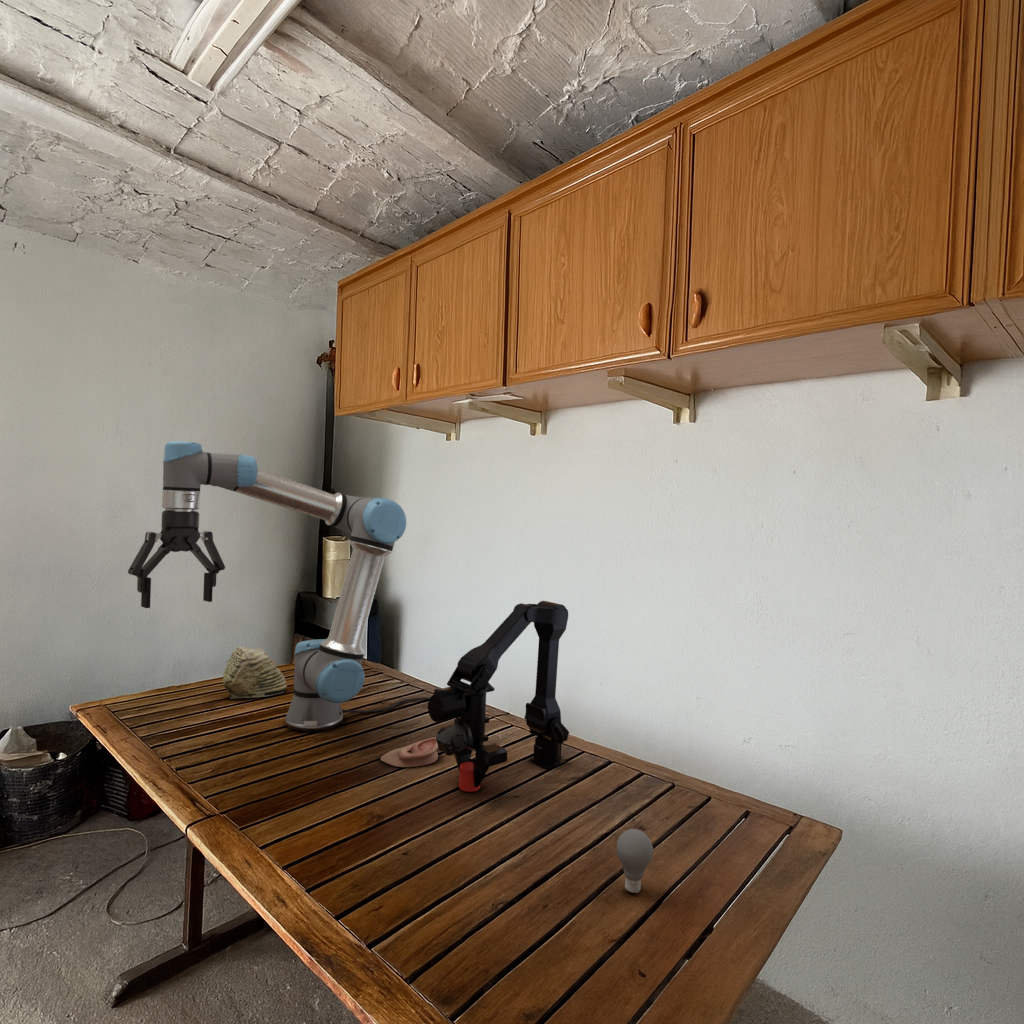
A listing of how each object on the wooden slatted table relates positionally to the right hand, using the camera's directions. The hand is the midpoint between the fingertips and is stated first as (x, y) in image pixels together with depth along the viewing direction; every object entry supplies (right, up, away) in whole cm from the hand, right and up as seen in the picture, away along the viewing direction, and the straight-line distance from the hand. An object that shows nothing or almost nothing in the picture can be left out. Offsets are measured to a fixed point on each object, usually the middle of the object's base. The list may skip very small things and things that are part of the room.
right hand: (469, 782), depth 141 cm
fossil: (-71, +3, +57) cm, 91 cm away
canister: (0, -1, 0) cm, 1 cm away
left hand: (-66, +39, +2) cm, 77 cm away
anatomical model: (-16, 0, +14) cm, 21 cm away
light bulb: (+29, -3, -35) cm, 46 cm away
